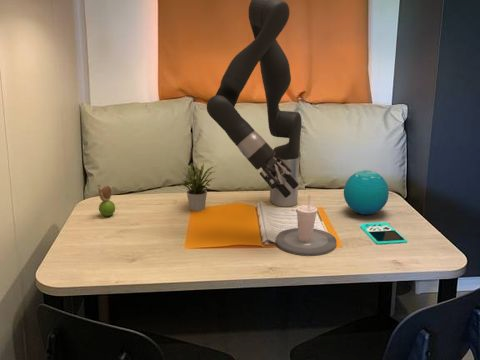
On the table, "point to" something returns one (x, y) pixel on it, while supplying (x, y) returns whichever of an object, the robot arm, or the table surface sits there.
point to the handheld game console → (382, 233)
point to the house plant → (197, 188)
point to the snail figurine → (106, 201)
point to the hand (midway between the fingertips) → (292, 191)
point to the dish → (317, 245)
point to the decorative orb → (366, 192)
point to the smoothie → (306, 220)
